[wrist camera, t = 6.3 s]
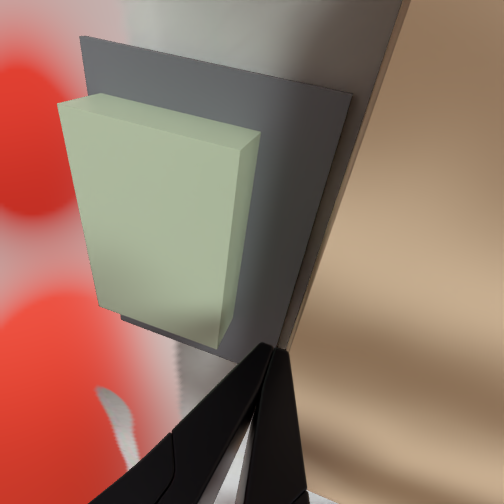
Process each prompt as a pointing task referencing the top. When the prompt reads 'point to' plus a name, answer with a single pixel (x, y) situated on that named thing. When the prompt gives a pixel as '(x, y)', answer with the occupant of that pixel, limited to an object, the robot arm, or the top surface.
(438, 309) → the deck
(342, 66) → the top surface
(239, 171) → the pale green foam block
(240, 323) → the mat
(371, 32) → the top surface
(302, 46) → the top surface
